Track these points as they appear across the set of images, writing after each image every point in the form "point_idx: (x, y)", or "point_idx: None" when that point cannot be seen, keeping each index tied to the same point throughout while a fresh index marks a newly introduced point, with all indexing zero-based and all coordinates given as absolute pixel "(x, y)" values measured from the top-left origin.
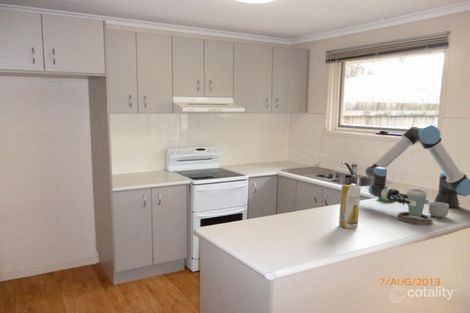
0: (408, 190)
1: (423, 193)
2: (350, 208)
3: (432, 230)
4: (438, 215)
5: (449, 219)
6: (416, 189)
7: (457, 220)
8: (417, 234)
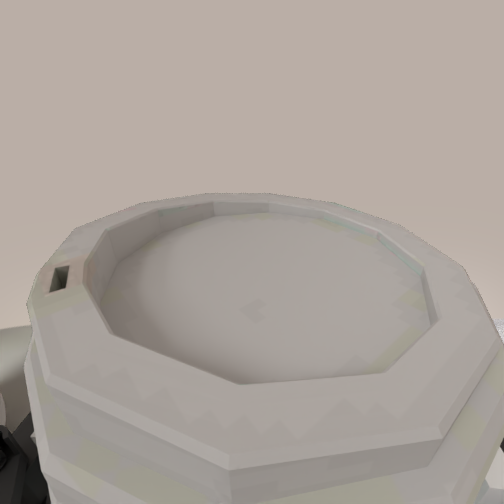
0: (429, 409)
1: (281, 196)
2: None
3: None
4: (4, 424)
5: (4, 383)
6: (78, 292)
7: (6, 351)
8: (495, 320)
